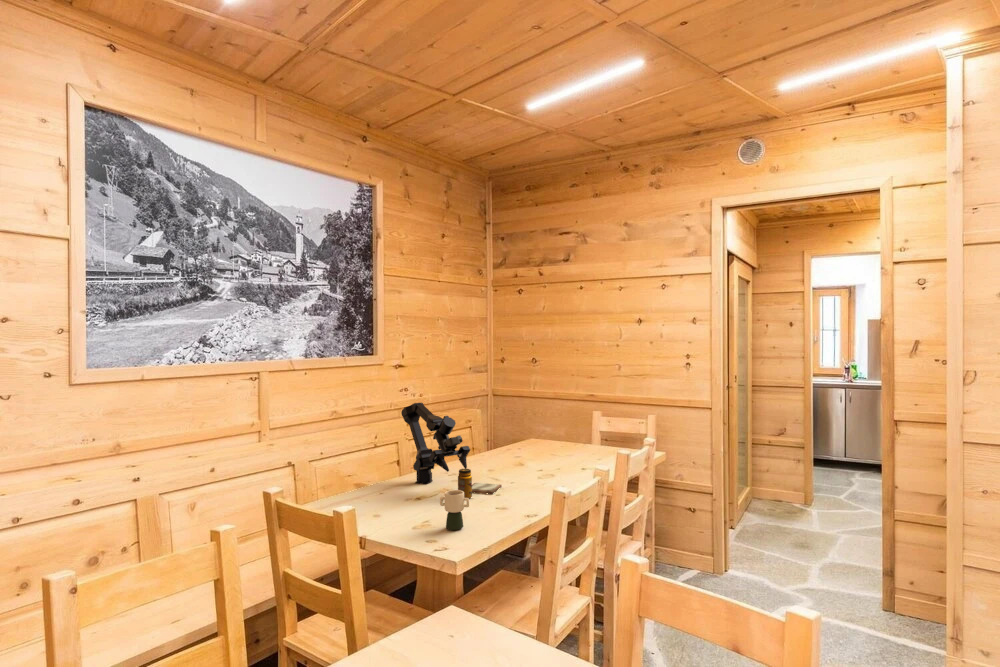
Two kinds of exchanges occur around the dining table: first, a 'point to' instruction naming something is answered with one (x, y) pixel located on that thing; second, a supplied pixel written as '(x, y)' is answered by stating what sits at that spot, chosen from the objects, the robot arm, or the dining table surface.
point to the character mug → (454, 508)
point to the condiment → (465, 482)
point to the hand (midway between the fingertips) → (457, 469)
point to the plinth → (485, 488)
